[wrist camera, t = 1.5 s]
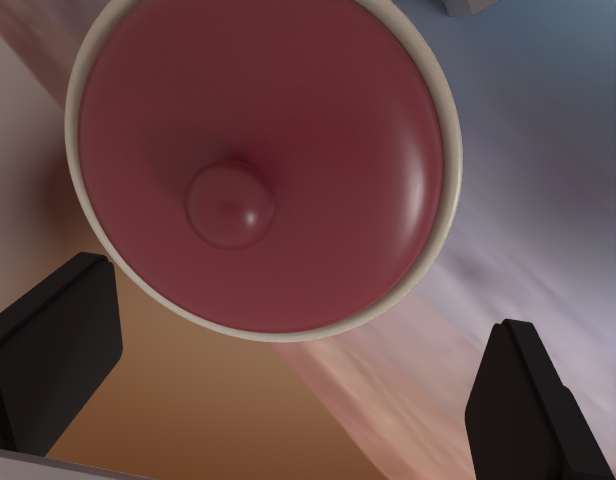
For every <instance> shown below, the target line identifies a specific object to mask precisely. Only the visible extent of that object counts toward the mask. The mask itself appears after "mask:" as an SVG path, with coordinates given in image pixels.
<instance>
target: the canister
mask: <svg viewBox="0 0 616 480" xmlns="http://www.w3.org/2000/svg"><path fill="white" fill-rule="evenodd" d="M65 143H66V152H67V158H68V164H69V169H70V173H71V177H72V181H73V184H74V187H75V190H76V193H77V196H78V198H79V201H80V203H81V206H82V208H83V211H84V213H85V215H86V217H87V219H88V221H89V223H90V225H91V227H92V228H93V230H94V232H95V233H96V235H97V237H98V238H99V240H100V242H101V243H102V245H103V246H104V247H105V249H106V250H107V251H108V253H109V254H110V255H111V257H112V258H113V259H114V261H115V262H116V263H117V264H118V265H119V266H120V268H121V269H122V270H123V271H124V272H125V273H126V274H127V275H128V276H129V277H130V278H131V279H132V280H133V281H134V282H135V283H136V284H137V285H138V286H139V287H141V288H142V289H143V290H144V291H145V292H146V293H148V294H149V295H150V296H151V297H153V298H154V299H155V300H157V301H158V302H159V303H161V304H163V305H164V306H166V307H167V308H168V309H170V310H172V311H173V312H175V313H177V314H179V315H180V316H182V317H184V318H186V319H188V320H190V321H192V322H194V323H196V324H199V325H201V326H203V327H206V328H208V329H211V330H214V331H217V332H220V333H223V334H227V335H230V336H234V337H239V338H243V339H249V340H256V341H265V342H298V341H307V340H314V339H319V338H324V337H328V336H332V335H336V334H339V333H342V332H345V331H348V330H350V329H353V328H355V327H357V326H360V325H362V324H364V323H366V322H368V321H370V320H372V319H373V318H375V317H377V316H378V315H380V314H382V313H383V312H385V311H386V310H388V309H389V308H390V307H392V306H393V305H394V304H396V303H397V302H398V301H399V300H401V299H402V298H403V297H404V296H405V295H406V294H407V293H408V292H409V291H410V290H411V289H412V288H413V287H414V286H415V285H416V284H417V283H418V282H419V281H420V279H421V278H422V277H423V276H424V275H425V273H426V272H427V271H428V269H429V268H430V266H431V265H432V263H433V262H434V260H435V259H436V257H437V256H438V254H439V252H440V250H441V248H442V246H443V244H444V242H445V240H446V238H447V236H448V234H449V231H450V229H451V226H452V223H453V220H454V217H455V214H456V210H457V206H458V202H459V197H460V191H461V184H462V174H463V147H462V137H461V129H460V123H459V118H458V114H457V110H456V106H455V102H454V99H453V96H452V93H451V90H450V87H449V85H448V82H447V80H446V77H445V75H444V73H443V71H442V69H441V67H440V65H439V63H438V61H437V59H436V57H435V55H434V53H433V52H432V50H431V49H430V47H429V45H428V44H427V42H426V41H425V39H424V38H423V36H422V35H421V34H420V32H419V31H418V30H417V28H416V27H415V26H414V25H413V23H412V22H411V21H410V20H409V19H408V17H407V16H406V15H405V14H404V13H403V12H402V11H401V10H400V9H399V8H398V7H397V6H396V5H395V4H394V3H393V2H392V1H391V0H111V1H110V2H109V3H108V4H107V5H106V6H105V8H104V9H103V10H102V12H101V13H100V14H99V15H98V17H97V18H96V20H95V21H94V23H93V24H92V26H91V28H90V29H89V31H88V33H87V35H86V37H85V39H84V41H83V43H82V45H81V47H80V49H79V52H78V54H77V57H76V59H75V62H74V65H73V69H72V72H71V76H70V80H69V84H68V90H67V96H66V104H65Z"/></svg>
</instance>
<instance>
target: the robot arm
mask: <svg viewBox="0 0 616 480" xmlns="http://www.w3.org/2000/svg"><path fill="white" fill-rule="evenodd" d="M122 350H123V345H122V334H121V326H120V317H119V307H118V299H117V290H116V280H115V272H114V265H113V264H112V263H111V262H108V259H107V257H106V256H104V255H100V254H93V253H87V252H80V253H78V254H77V255H75V256H74V257H73V258H71V259H70V260H69V261H67V262H66V263H65V264H64V265H62V266H61V267H60V268H58V269H57V270H56V271H54V272H53V273H52V274H51V275H49V276H48V277H47V278H45V279H44V280H43V281H42V282H40V283H39V284H37V285H36V286H35V287H34V288H32V289H31V290H30V291H28V292H27V293H26V294H24V295H23V296H22V297H21V298H19V299H18V300H17V301H16V302H14V303H13V304H11V305H10V306H9V307H8V308H6V309H5V310H4V311H2V312H1V313H0V480H156V479H151V478H146V477H142V476H136V475H131V474H126V473H121V472H116V471H111V470H106V469H101V468H96V467H90V466H86V465H81V464H75V463H70V462H65V461H60V460H54V459H50V458H45V455H46V454H47V453H48V452H49V450H50V449H51V448H52V446H53V445H54V444H55V442H56V441H57V440H58V439H59V437H60V436H61V435H62V434H63V432H64V431H65V430H66V428H67V427H68V426H69V424H70V423H71V422H72V420H73V419H74V418H75V417H76V415H77V414H78V412H80V410H81V409H82V408H83V406H84V405H85V404H86V403H87V401H88V400H89V399H90V397H91V396H92V395H93V393H94V392H95V391H96V389H97V388H98V387H99V386H100V384H101V383H102V382H103V381H104V379H105V378H106V376H107V375H108V374H109V373H110V372H111V370H112V369H113V368H114V366H115V365H116V364H117V362H118V361H119V359H120V357H121V355H122ZM465 425H466V430H467V435H468V440H469V445H470V450H471V455H472V460H473V465H474V470H475V475H476V479H477V480H616V479H615V477H614V475H613V473H612V471H611V469H610V467H609V465H608V463H607V461H606V459H605V457H604V455H603V453H602V451H601V450H600V448H599V446H598V444H597V442H596V440H595V438H594V436H593V434H592V432H591V430H590V428H589V426H588V424H587V422H586V420H585V418H584V416H583V414H582V412H581V410H580V408H579V406H578V404H577V402H576V400H575V398H574V396H573V394H572V393H571V391H570V390H569V388H567V387H565V386H563V384H562V382H561V380H560V378H559V376H558V374H557V372H556V370H555V368H554V366H553V364H552V362H551V359H550V357H549V355H548V353H547V351H546V349H545V347H544V345H543V343H542V341H541V339H540V337H539V335H538V333H537V331H536V329H535V327H534V325H533V324H532V323H530V322H524V321H518V320H512V319H504V320H503V322H502V323H501V324H497V323H496V324H494V326H493V328H492V331H491V334H490V337H489V340H488V343H487V346H486V349H485V352H484V355H483V358H482V361H481V364H480V367H479V370H478V373H477V376H476V379H475V382H474V385H473V388H472V391H471V394H470V397H469V400H468V403H467V406H466V409H465Z"/></svg>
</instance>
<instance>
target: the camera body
mask: <svg viewBox="0 0 616 480" xmlns="http://www.w3.org/2000/svg"><path fill="white" fill-rule="evenodd" d="M499 1H501V0H443V2H444V5H445V8H446V10H447V13H448V16H449V17H452V16H468V15H474V14H476V13H478V12H480V11H482V10H484V9H486V8H487V7H489V6H491V5H493V4H495V3H497V2H499Z"/></svg>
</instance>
